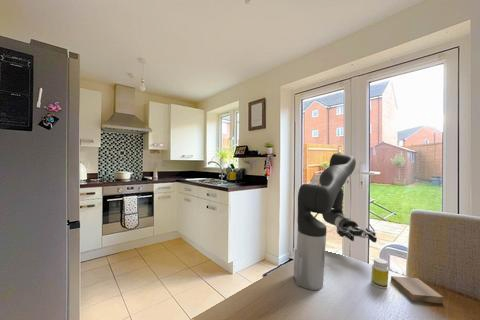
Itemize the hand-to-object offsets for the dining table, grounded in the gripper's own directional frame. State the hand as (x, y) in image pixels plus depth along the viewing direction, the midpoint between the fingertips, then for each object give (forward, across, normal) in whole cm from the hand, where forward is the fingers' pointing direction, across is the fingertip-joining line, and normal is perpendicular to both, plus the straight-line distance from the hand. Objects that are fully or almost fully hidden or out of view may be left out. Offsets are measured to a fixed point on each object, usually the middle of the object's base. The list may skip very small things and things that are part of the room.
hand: (364, 239), depth 84 cm
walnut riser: (+14, +10, +11) cm, 20 cm away
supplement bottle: (+12, 0, +11) cm, 16 cm away
